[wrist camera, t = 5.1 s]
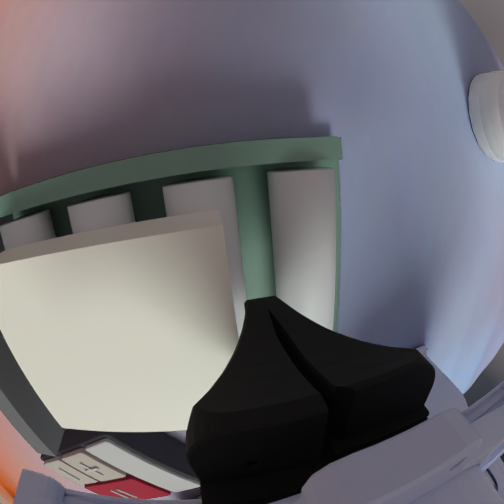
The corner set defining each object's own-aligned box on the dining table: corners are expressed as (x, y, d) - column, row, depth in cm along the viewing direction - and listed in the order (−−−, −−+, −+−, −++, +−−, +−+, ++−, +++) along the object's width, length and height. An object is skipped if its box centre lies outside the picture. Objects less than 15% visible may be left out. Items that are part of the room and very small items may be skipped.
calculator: (37, 463, 16) (103, 441, 14) (47, 435, 20) (114, 398, 18) (118, 505, 20) (210, 490, 18) (122, 478, 24) (208, 453, 22)
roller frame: (330, 137, 14) (422, 134, 8) (330, 347, 19) (377, 422, 12) (-1, 196, 12) (-83, 230, 5) (67, 379, 17) (38, 453, 10)
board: (218, 209, 10) (223, 225, 8) (244, 386, 14) (252, 421, 11) (5, 249, 9) (-24, 269, 7) (72, 397, 12) (62, 427, 10)
